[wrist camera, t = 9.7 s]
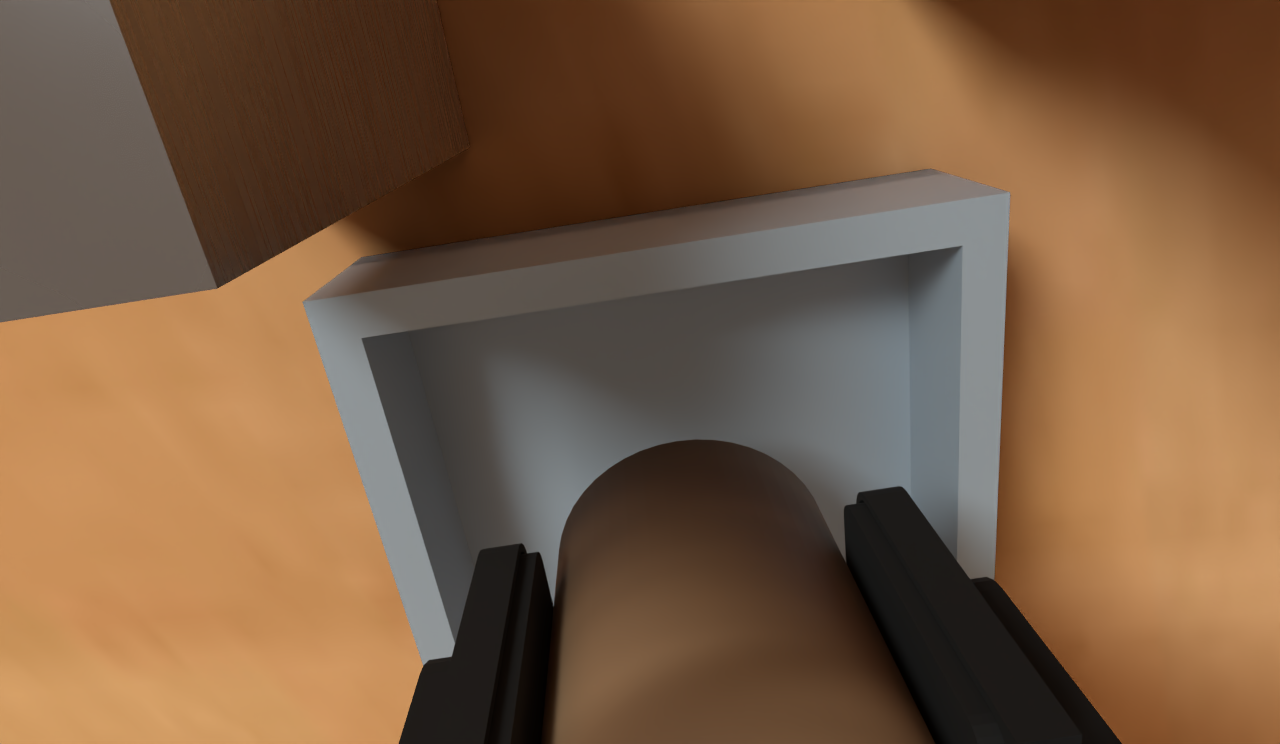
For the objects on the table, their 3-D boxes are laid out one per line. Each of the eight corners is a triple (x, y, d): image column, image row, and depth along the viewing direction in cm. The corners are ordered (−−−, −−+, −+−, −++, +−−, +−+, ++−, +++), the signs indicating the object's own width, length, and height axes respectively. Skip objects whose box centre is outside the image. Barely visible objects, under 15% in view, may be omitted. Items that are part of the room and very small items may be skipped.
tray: (930, 169, 12) (1010, 192, 10) (930, 625, 15) (988, 724, 13) (361, 257, 12) (302, 302, 10) (488, 689, 15) (467, 799, 13)
